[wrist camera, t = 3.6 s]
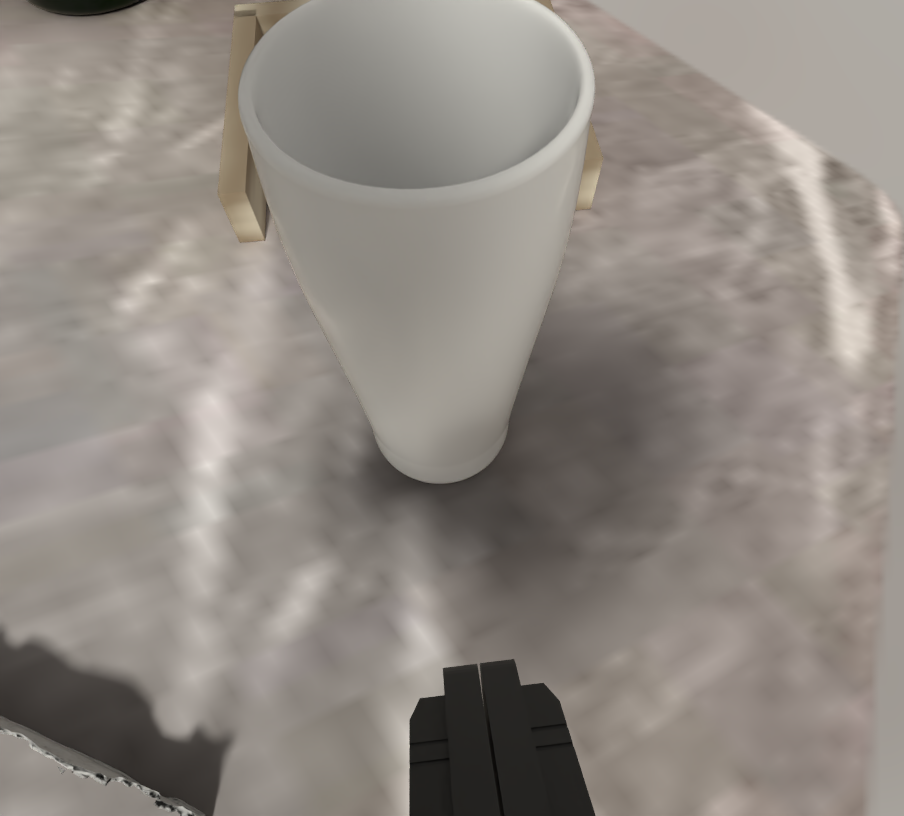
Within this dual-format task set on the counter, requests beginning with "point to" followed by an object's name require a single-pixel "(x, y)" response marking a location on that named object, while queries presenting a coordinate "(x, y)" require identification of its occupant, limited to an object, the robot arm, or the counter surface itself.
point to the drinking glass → (423, 201)
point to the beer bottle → (81, 6)
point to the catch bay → (237, 163)
